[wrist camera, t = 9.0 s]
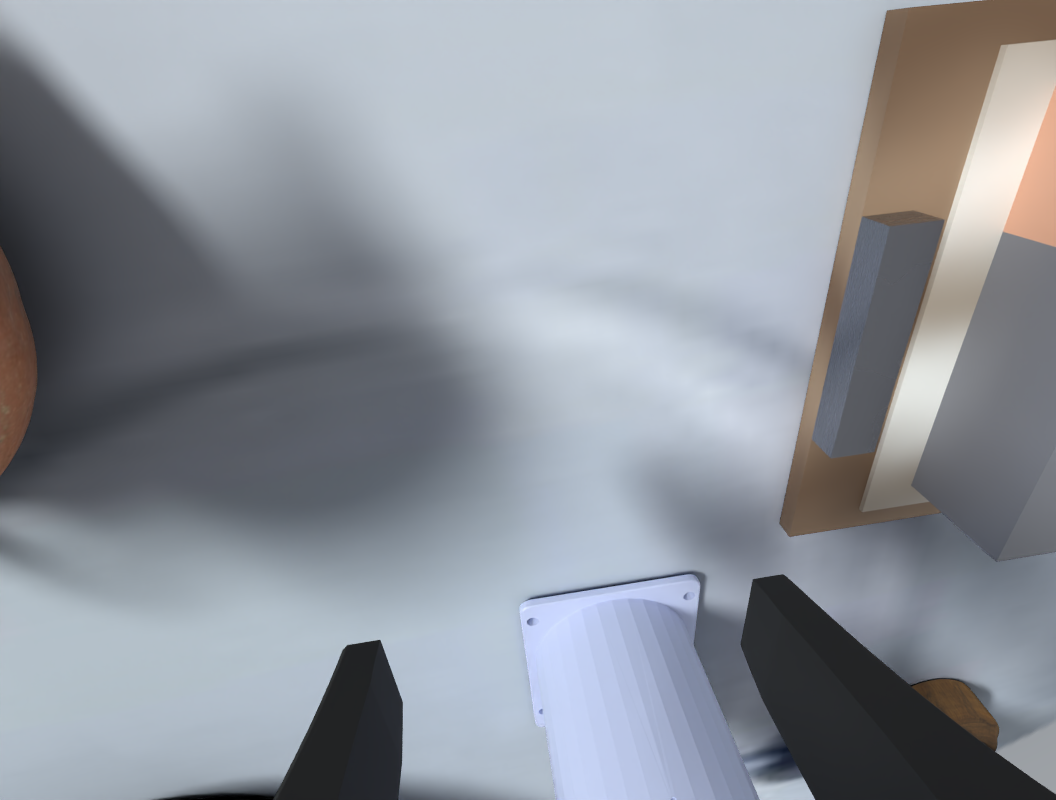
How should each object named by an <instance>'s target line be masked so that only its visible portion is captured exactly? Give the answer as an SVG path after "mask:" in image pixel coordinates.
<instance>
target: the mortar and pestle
mask: <svg viewBox="0 0 1056 800" xmlns="http://www.w3.org/2000/svg"><path fill="white" fill-rule="evenodd" d="M911 687H912V688H914V689H915V690H916V691H917V692H919V693H920V694H921V695H922V696H924V697H925V698H926V699H927V700H928V701H930V702H931V703H932V704H934V705H935V706H936V707H937V708H939V709H940V710H941V711H942V712H944V713H945V714H946V715H947V716H949V717H950V718H951V719H953V720H954V721H955V722H956V723H958V724H959V725H960V726H962V727H963V728H964V729H965V730H967V731H968V732H969V733H971V734H972V735H973V736H975V737H976V738H977V739H979V740H980V741H981V742H983V743H984V744H985V745H987V746H988V747H989V748H991V749H992V750H993V751H996V748H997V737H998V734H999V726H998V724H997V722H996V721H995V719H994V718H993V717H992V715H991V714H990V713H989V712H988V710H987V709H986V708H985V707H984V706H983V704H982V703H981V702H980V701H979V699H978V698H977V697H976V696H975V694H974V693H973V692H972V691H971V689H970V688H969V687H968V686H967V685H965V684H964V683H962V682H960V681H956V680H951V679H936V680H930V681H926V682H922V683H919V684H916V685H913V686H911Z"/></svg>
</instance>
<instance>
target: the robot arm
mask: <svg viewBox="0 0 1056 800" xmlns="http://www.w3.org/2000/svg"><path fill="white" fill-rule="evenodd" d="M699 595H700V582H699V580H698V578H697V577H696V576H695V575H692V574H687V575H681V576H674V577H668V578H662V579H656V580H650V581H643V582H637V583H631V584H625V585H618V586H612V587H606V588H600V589H594V590H587V591H581V592H575V593H569V594H563V595H556V596H550V597H544V598H538V599H531V600H527V601H525V602H523V603H522V604H521V605H520V608H519V611H520V618H521V625H522V632H523V639H524V646H525V653H526V660H527V667H528V674H529V682H530V689H531V696H532V703H533V710H534V717H535V723H536V725H538V726H539V727H545V729H546V736H547V743H548V749H549V756H550V763H551V770H552V776H553V783H554V790H555V797H556V800H759V797H758V795H757V792H756V790H755V788H754V785H753V783H752V781H751V778H750V776H749V774H748V771H747V769H746V767H745V764H744V762H743V760H742V757H741V755H740V753H739V750H738V748H737V746H736V743H735V741H734V739H733V736H732V734H731V732H730V729H729V727H728V725H727V722H726V720H725V718H724V715H723V713H722V711H721V708H720V706H719V704H718V701H717V699H716V697H715V694H714V692H713V690H712V687H711V685H710V683H709V680H708V678H707V676H706V673H705V671H704V669H703V666H702V664H701V662H700V659H699V657H698V655H697V652H696V650H695V647H694V637H695V629H696V620H697V612H698V603H699ZM741 647H742V650H743V652H744V655H745V657H746V660H747V663H748V665H749V668H750V670H751V673H752V675H753V678H754V680H755V683H756V685H757V687H758V690H759V692H760V695H761V697H762V699H763V701H764V703H765V705H766V707H767V709H768V711H769V713H770V715H771V717H772V719H773V721H774V723H775V725H776V726H777V728H778V730H779V732H780V734H781V736H782V738H783V740H784V742H785V744H786V745H787V747H788V749H789V751H790V753H791V755H792V757H793V759H794V761H795V762H796V764H797V766H798V768H799V770H800V772H801V774H802V776H803V777H804V779H805V781H806V783H807V785H808V787H809V789H810V791H811V792H812V794H813V796H814V798H815V800H1056V794H1054V793H1053V792H1051V791H1050V790H1048V789H1047V788H1046V787H1044V786H1043V785H1041V784H1040V783H1038V782H1037V781H1035V780H1034V779H1032V778H1031V777H1030V776H1028V775H1027V774H1025V773H1024V772H1023V771H1021V770H1020V769H1018V768H1017V767H1016V766H1014V765H1013V764H1011V763H1010V762H1009V761H1007V760H1006V759H1004V758H1003V757H1002V756H1000V755H999V754H997V753H996V752H995V751H993V750H992V749H991V748H989V747H988V746H987V745H985V744H984V743H983V742H981V741H980V740H979V739H977V738H976V737H975V736H973V735H972V734H971V733H969V732H968V731H967V730H965V729H964V728H963V727H962V726H960V725H959V724H958V723H956V722H955V721H954V720H953V719H951V718H950V717H949V716H947V715H946V714H945V713H944V712H942V711H941V710H940V709H939V708H937V707H936V706H935V705H934V704H932V703H931V702H930V701H928V700H927V699H926V698H925V697H924V696H922V695H921V694H920V693H919V692H917V691H916V690H915V689H914V688H912V687H911V686H910V685H909V684H908V683H906V682H905V681H904V680H903V679H902V678H900V677H899V676H898V675H897V674H896V673H895V672H893V671H892V670H891V669H890V668H889V667H887V666H886V665H885V664H884V663H883V662H882V661H880V660H879V659H878V658H877V657H876V656H874V655H873V654H872V653H871V652H870V651H869V650H867V649H866V648H865V647H864V646H863V645H862V644H861V643H859V642H858V641H857V640H856V639H855V638H854V637H853V636H851V635H850V634H849V633H848V632H847V631H846V630H845V629H844V628H842V627H841V626H840V625H839V624H838V623H837V622H836V621H835V620H834V619H832V618H831V617H830V616H829V615H828V614H827V613H826V612H825V611H824V610H822V609H821V608H820V607H819V606H818V605H817V604H816V603H815V602H814V601H813V600H811V599H810V598H809V597H808V596H807V595H806V594H805V593H804V592H803V591H802V590H801V589H799V588H798V587H797V586H796V585H795V584H794V583H793V582H792V581H791V580H789V579H788V578H787V577H786V576H785V575H783V574H782V575H776V576H770V577H764V578H757V579H753V582H752V587H751V592H750V598H749V603H748V608H747V613H746V619H745V624H744V629H743V635H742V640H741ZM402 731H403V702H402V699H401V696H400V693H399V691H398V688H397V685H396V682H395V679H394V677H393V674H392V671H391V668H390V666H389V663H388V660H387V657H386V654H385V652H384V649H383V646H382V643H381V641H380V640H377V641H370V642H364V643H358V644H352V645H347V646H346V647H345V648H344V649H343V651H342V653H341V656H340V658H339V661H338V663H337V666H336V668H335V671H334V673H333V675H332V678H331V680H330V682H329V685H328V687H327V689H326V692H325V694H324V696H323V698H322V701H321V703H320V705H319V707H318V710H317V712H316V714H315V716H314V718H313V720H312V723H311V725H310V727H309V729H308V731H307V733H306V735H305V737H304V739H303V741H302V743H301V745H300V748H299V750H298V752H297V754H296V756H295V758H294V760H293V762H292V764H291V766H290V768H289V770H288V772H287V774H286V776H285V778H284V780H283V782H282V784H281V786H280V788H279V790H278V792H277V794H276V795H275V797H274V799H273V800H398V795H399V786H400V776H401V767H402Z"/></svg>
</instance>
